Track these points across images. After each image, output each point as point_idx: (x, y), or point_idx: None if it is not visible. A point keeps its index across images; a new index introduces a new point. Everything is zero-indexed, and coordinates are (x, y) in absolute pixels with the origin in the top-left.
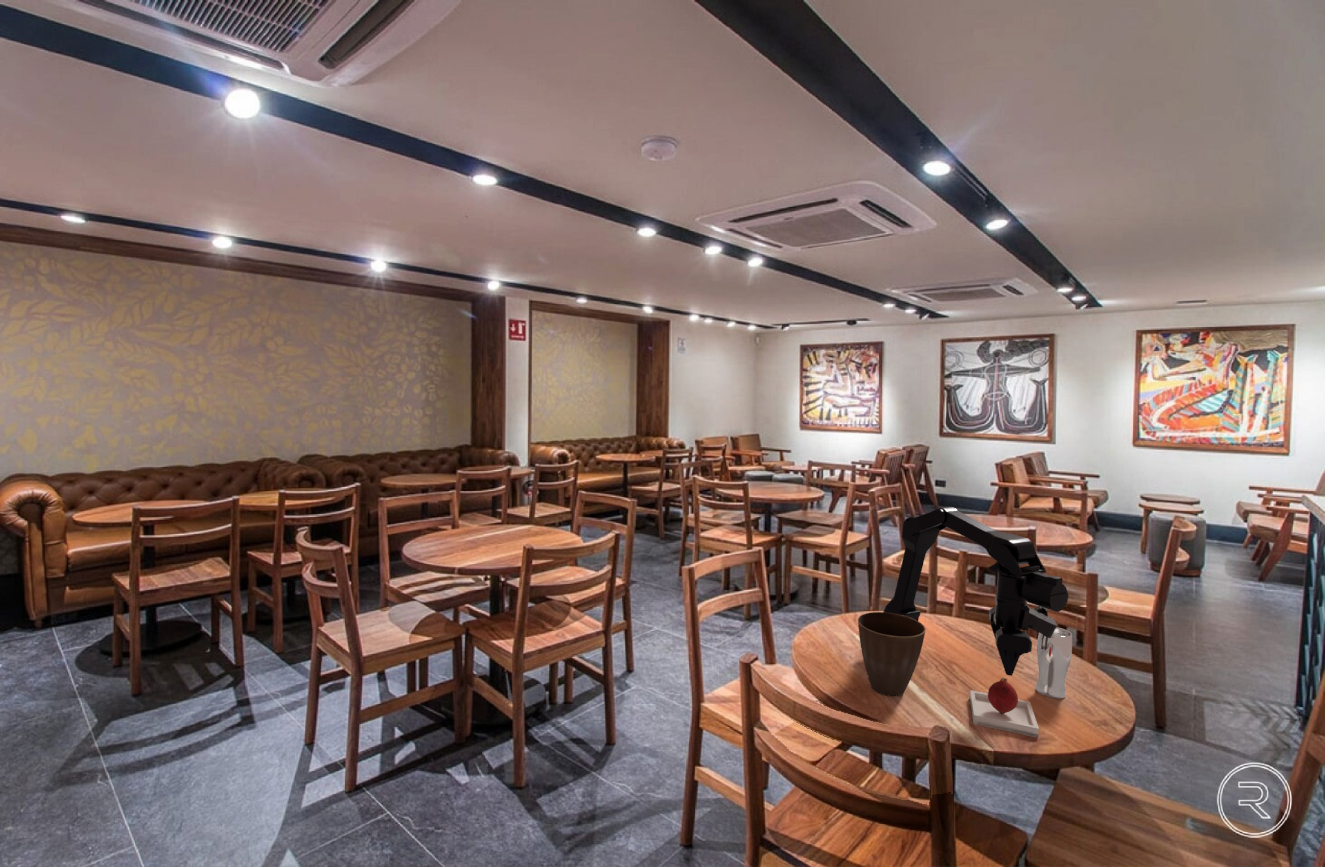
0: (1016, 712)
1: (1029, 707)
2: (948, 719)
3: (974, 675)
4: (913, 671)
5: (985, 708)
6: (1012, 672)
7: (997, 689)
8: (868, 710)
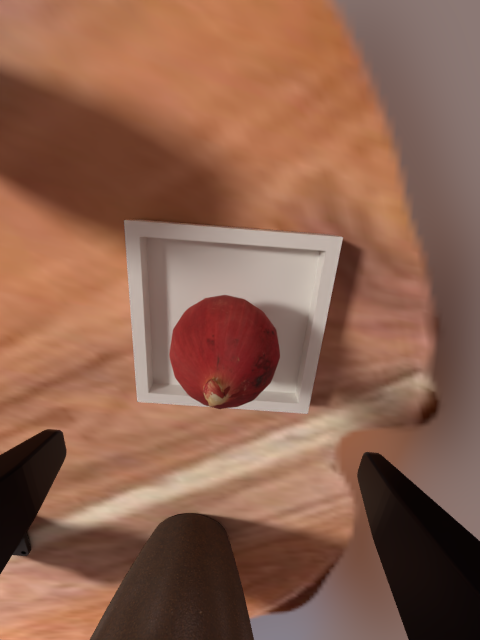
0: (200, 275)
1: (178, 233)
2: (296, 444)
3: None
4: (200, 583)
5: None
6: (399, 474)
7: (253, 396)
8: (309, 564)
